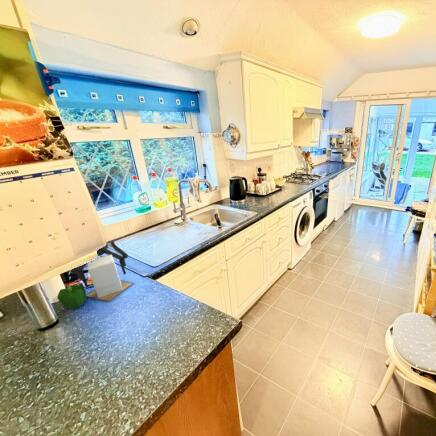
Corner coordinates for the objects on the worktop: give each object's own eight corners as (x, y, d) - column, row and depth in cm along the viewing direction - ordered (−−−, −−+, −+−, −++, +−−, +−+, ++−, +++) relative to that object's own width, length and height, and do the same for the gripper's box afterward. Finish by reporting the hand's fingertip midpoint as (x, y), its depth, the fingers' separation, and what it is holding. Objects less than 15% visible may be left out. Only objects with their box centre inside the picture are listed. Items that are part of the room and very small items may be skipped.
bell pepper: (66, 301, 99) (58, 282, 96) (90, 296, 103) (83, 276, 99) (59, 315, 92) (50, 294, 89) (85, 308, 96) (78, 288, 92)
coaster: (86, 296, 102) (85, 296, 102) (111, 280, 113) (110, 279, 113) (108, 301, 100) (108, 300, 100) (132, 284, 111) (131, 283, 111)
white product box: (120, 280, 113) (112, 253, 107) (123, 290, 106) (114, 261, 101) (96, 288, 107) (86, 260, 102) (97, 298, 101) (87, 269, 95)
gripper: (52, 242, 96) (66, 289, 92) (124, 226, 112) (139, 266, 108) (56, 249, 102) (70, 294, 97) (124, 233, 118) (138, 271, 113)
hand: (106, 279), depth 103 cm, fingers open, 13 cm apart
